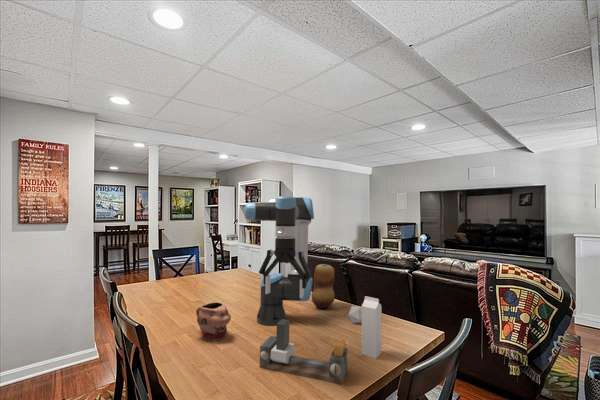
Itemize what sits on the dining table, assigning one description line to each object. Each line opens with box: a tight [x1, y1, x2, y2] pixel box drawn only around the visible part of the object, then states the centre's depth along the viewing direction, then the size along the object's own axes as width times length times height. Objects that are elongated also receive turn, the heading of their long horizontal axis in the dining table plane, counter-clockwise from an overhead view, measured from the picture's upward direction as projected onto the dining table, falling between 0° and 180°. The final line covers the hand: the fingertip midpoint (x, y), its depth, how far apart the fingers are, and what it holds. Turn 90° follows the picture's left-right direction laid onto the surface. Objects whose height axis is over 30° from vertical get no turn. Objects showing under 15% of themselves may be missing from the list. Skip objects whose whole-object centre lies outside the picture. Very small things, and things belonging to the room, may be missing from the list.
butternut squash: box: [310, 263, 335, 309], centre depth 169 cm, size 14×13×25 cm
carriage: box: [271, 319, 295, 364], centre depth 105 cm, size 6×8×13 cm
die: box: [348, 305, 362, 324], centre depth 146 cm, size 8×9×10 cm
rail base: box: [259, 335, 348, 385], centre depth 102 cm, size 30×10×8 cm, turn 71°
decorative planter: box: [195, 302, 232, 341], centre depth 128 cm, size 20×12×14 cm, turn 65°
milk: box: [361, 295, 383, 360], centre depth 114 cm, size 6×6×22 cm
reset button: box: [331, 339, 347, 356], centre depth 98 cm, size 4×4×4 cm
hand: (284, 295), depth 106 cm, fingers open, 13 cm apart
